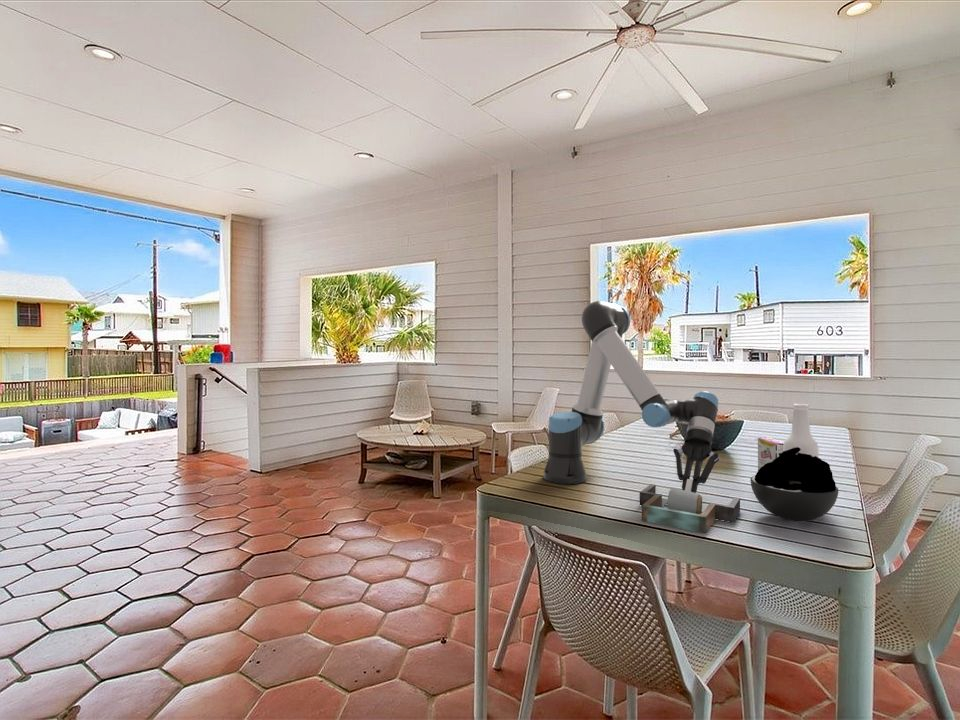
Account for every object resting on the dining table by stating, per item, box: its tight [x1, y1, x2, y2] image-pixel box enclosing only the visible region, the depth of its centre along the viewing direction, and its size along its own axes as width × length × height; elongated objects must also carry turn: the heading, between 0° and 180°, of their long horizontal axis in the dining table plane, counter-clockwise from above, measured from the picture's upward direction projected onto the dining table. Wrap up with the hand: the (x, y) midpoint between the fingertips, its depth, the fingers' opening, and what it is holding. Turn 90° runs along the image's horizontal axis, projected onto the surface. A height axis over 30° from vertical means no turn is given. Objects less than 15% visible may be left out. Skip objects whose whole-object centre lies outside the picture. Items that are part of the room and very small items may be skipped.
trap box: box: [639, 483, 741, 534], centre depth 136 cm, size 25×24×4 cm
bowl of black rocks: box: [750, 447, 839, 523], centre depth 132 cm, size 20×20×19 cm
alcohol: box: [783, 403, 820, 458], centre depth 145 cm, size 9×9×30 cm
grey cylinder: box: [666, 487, 703, 515], centre depth 135 cm, size 11×8×8 cm
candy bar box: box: [757, 437, 784, 471], centre depth 161 cm, size 11×5×16 cm, turn 179°
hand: (686, 501), depth 138 cm, fingers closed
